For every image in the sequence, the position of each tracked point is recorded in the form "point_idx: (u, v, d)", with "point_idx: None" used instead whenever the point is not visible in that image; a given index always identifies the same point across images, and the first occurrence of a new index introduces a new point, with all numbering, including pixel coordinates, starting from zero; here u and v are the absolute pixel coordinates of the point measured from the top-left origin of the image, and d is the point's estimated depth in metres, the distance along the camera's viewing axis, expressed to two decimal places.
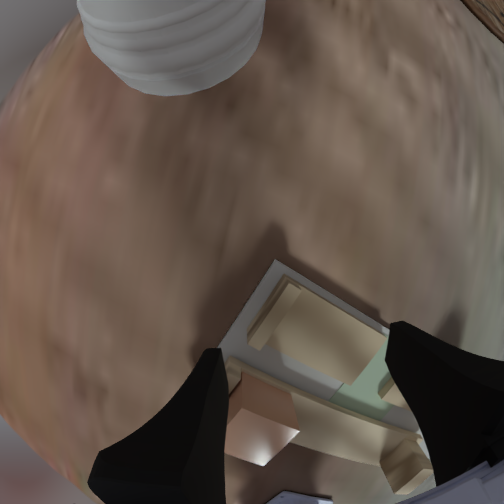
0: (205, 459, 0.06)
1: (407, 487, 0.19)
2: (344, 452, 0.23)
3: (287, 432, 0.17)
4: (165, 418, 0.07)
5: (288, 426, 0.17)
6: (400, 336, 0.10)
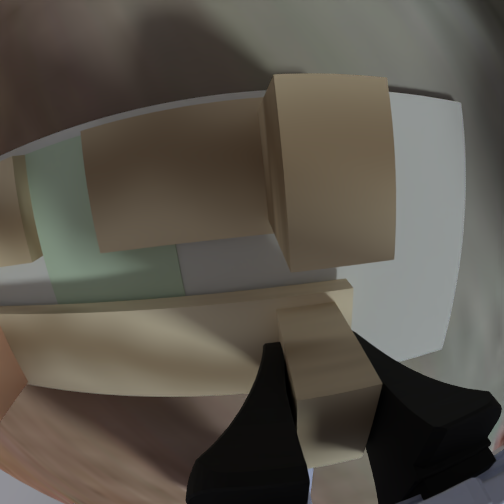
0: None
1: (322, 451, 0.08)
2: (162, 386, 0.13)
3: None
4: (252, 415, 0.07)
5: None
6: None
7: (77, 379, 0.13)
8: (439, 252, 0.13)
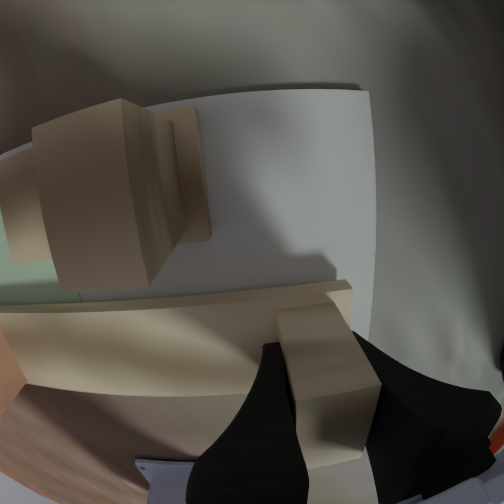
0: None
1: (321, 451, 0.08)
2: (161, 385, 0.13)
3: None
4: (252, 415, 0.07)
5: None
6: None
7: (76, 378, 0.13)
8: (341, 266, 0.13)
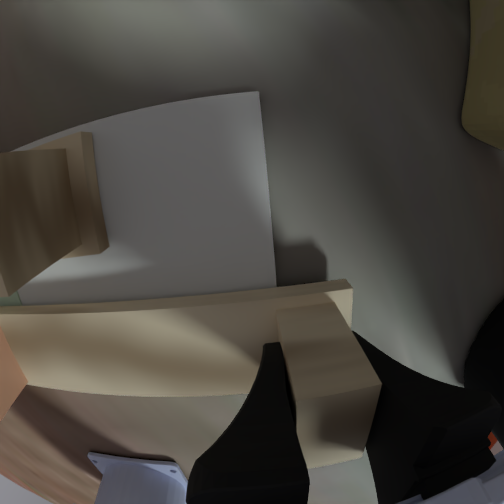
0: None
1: (321, 451, 0.08)
2: (162, 386, 0.13)
3: None
4: (252, 416, 0.07)
5: None
6: None
7: (77, 379, 0.13)
8: (237, 278, 0.13)
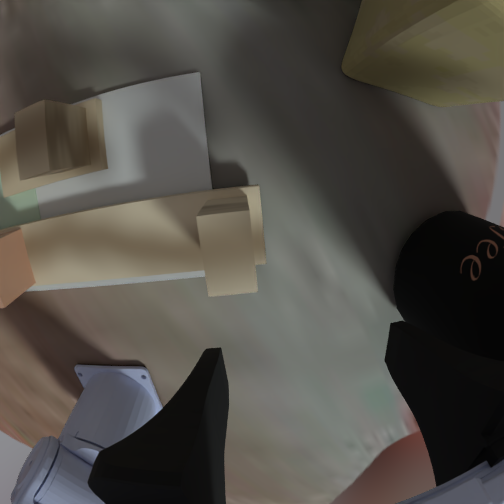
0: (205, 459, 0.06)
1: (222, 273, 0.14)
2: (134, 266, 0.19)
3: None
4: (165, 418, 0.07)
5: None
6: (400, 336, 0.10)
7: (74, 270, 0.19)
8: (186, 185, 0.19)
